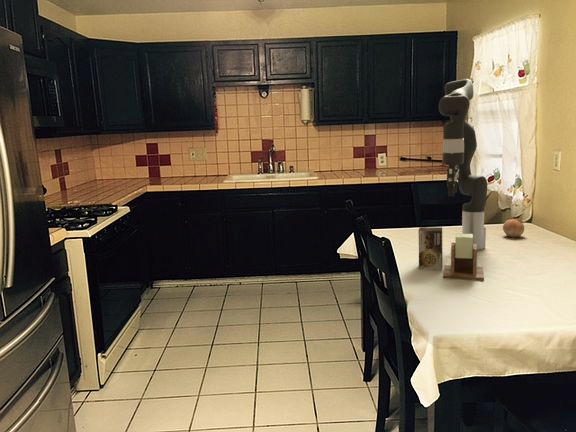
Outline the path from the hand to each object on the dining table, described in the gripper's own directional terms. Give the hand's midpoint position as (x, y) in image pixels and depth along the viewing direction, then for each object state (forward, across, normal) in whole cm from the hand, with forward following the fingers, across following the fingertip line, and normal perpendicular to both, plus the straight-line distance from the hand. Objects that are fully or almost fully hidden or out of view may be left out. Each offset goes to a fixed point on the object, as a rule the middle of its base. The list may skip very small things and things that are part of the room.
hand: (452, 194), depth 179 cm
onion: (+30, -66, +22) cm, 76 cm away
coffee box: (+30, -4, -8) cm, 32 cm away
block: (+23, +1, +5) cm, 24 cm away
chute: (+30, +1, +5) cm, 31 cm away
